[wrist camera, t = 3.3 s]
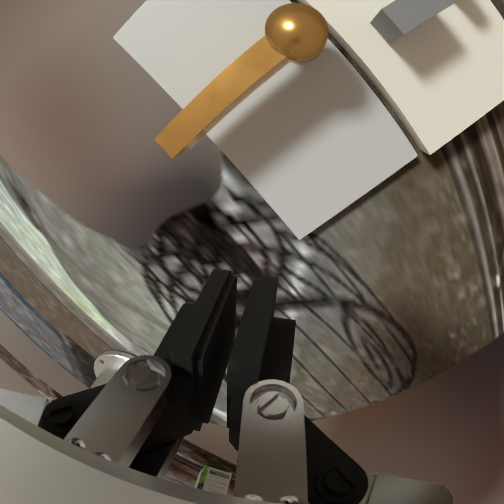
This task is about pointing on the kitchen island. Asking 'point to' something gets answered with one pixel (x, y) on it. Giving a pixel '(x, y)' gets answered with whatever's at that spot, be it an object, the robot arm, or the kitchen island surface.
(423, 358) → the kitchen island surface
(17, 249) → the kitchen island surface
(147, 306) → the kitchen island surface
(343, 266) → the kitchen island surface
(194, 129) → the latch bar
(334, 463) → the robot arm
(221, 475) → the syrup box
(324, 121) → the door mock-up
